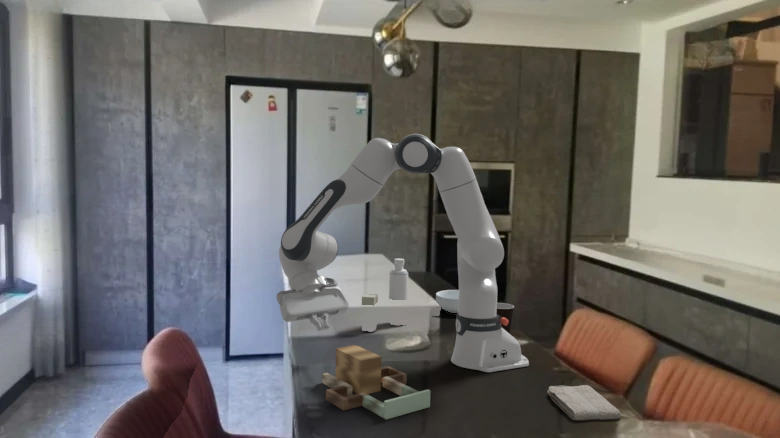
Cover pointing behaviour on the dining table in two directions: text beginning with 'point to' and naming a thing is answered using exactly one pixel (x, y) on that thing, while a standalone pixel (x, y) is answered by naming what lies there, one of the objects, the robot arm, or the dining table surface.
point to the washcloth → (582, 403)
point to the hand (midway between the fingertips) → (323, 329)
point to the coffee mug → (505, 314)
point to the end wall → (406, 404)
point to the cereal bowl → (448, 300)
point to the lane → (345, 400)
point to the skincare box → (369, 299)
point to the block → (359, 369)
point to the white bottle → (398, 281)
